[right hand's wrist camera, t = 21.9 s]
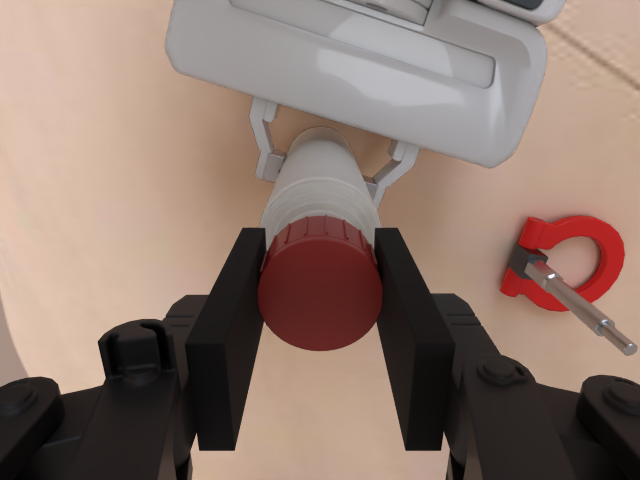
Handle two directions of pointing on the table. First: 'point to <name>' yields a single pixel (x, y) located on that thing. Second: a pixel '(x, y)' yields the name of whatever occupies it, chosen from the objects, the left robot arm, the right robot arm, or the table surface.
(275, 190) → the bottle
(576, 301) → the tow hook
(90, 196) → the table surface
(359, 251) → the cap
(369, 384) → the table surface
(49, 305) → the table surface
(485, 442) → the right robot arm
